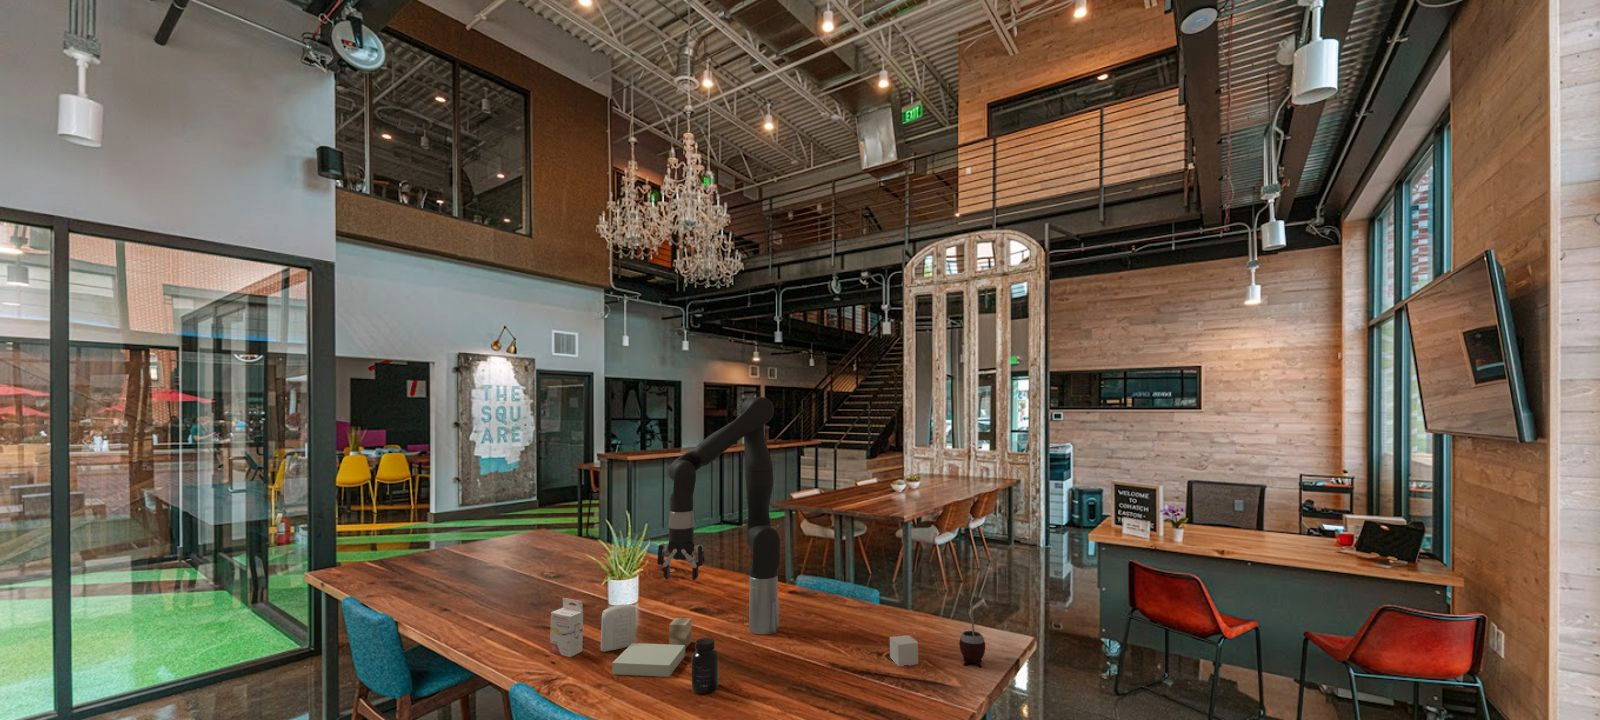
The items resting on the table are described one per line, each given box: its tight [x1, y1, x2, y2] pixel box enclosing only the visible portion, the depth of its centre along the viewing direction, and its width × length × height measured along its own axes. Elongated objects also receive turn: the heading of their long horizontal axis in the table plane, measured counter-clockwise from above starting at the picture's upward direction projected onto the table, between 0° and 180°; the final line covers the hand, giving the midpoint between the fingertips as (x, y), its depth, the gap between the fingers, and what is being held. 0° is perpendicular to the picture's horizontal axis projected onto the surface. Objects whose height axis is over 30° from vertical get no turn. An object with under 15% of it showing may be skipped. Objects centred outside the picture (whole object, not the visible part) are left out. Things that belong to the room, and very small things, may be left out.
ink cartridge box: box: [549, 597, 584, 658], centre depth 183 cm, size 9×5×15 cm, turn 65°
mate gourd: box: [958, 602, 986, 669], centre depth 174 cm, size 8×8×15 cm
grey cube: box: [889, 634, 919, 667], centre depth 175 cm, size 6×6×6 cm
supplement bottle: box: [691, 637, 719, 695], centre depth 159 cm, size 7×7×12 cm
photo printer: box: [600, 603, 637, 653], centre depth 187 cm, size 10×4×12 cm, turn 123°
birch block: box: [668, 617, 692, 650], centre depth 188 cm, size 5×6×7 cm
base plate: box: [611, 642, 686, 678], centre depth 174 cm, size 16×14×3 cm
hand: (680, 579), depth 189 cm, fingers open, 8 cm apart
